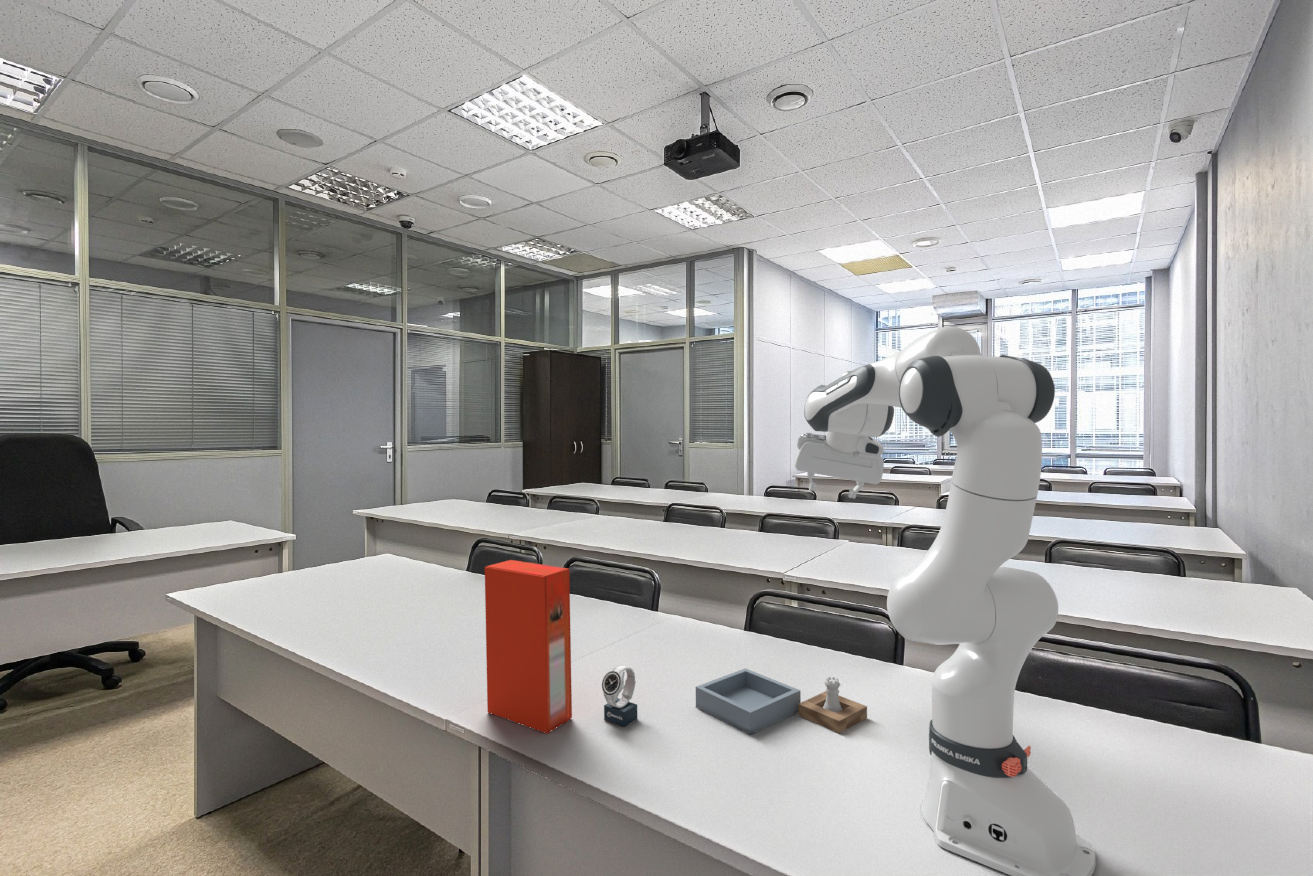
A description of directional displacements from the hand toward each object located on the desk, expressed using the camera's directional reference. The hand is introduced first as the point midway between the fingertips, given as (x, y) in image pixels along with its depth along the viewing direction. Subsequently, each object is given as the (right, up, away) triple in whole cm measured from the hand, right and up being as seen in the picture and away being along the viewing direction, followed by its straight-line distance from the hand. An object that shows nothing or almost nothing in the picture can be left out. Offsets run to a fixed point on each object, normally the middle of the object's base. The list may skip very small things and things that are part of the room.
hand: (831, 493), depth 145 cm
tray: (-22, -46, -14) cm, 53 cm away
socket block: (-5, -46, -18) cm, 49 cm away
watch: (-50, -46, -18) cm, 70 cm away
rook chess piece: (-5, -46, -18) cm, 49 cm away
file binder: (-70, -46, -16) cm, 85 cm away
